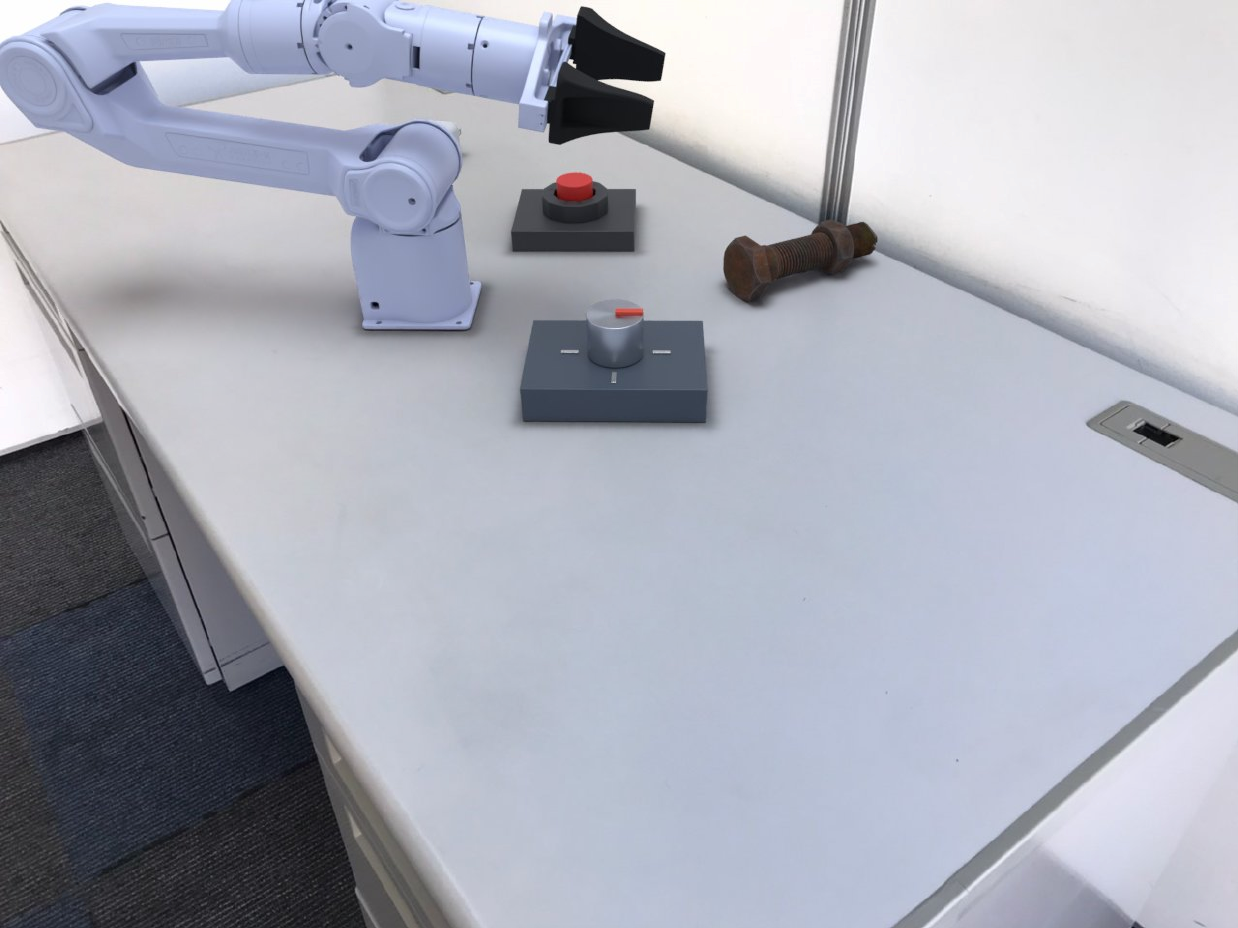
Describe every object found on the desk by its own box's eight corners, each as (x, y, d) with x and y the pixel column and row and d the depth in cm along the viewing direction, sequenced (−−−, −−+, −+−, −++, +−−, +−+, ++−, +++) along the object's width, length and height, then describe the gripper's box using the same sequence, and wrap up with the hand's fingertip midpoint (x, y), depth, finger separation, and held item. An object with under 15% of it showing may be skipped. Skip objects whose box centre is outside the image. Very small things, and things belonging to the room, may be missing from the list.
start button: (555, 204, 98) (554, 187, 97) (558, 188, 101) (557, 172, 100) (592, 203, 98) (591, 187, 97) (593, 188, 101) (593, 172, 100)
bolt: (867, 276, 97) (739, 312, 91) (842, 235, 98) (715, 267, 92) (896, 240, 92) (763, 275, 86) (870, 197, 93) (737, 228, 87)
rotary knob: (586, 368, 76) (584, 325, 74) (589, 337, 80) (587, 295, 77) (643, 368, 76) (643, 325, 74) (644, 337, 80) (644, 295, 77)
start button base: (512, 252, 98) (509, 214, 96) (523, 208, 106) (520, 172, 103) (634, 252, 98) (634, 214, 95) (636, 208, 105) (635, 172, 103)
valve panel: (522, 421, 76) (519, 387, 74) (535, 350, 84) (532, 318, 82) (705, 422, 76) (707, 388, 74) (701, 351, 84) (702, 318, 82)
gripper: (457, 49, 67) (654, 86, 67) (504, -36, 77) (676, -3, 77) (457, 142, 73) (640, 177, 73) (500, 52, 82) (662, 83, 82)
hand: (657, 90), depth 75 cm, fingers open, 7 cm apart
